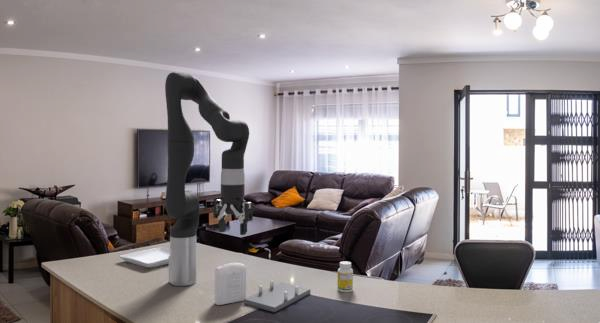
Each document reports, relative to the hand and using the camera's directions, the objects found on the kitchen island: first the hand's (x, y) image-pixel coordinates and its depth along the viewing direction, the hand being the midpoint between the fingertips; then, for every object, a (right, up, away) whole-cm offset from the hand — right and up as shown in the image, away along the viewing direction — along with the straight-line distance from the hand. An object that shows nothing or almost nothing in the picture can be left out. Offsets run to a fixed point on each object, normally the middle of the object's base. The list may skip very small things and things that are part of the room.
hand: (232, 233), depth 137 cm
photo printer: (-1, -22, +1) cm, 22 cm away
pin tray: (+15, -22, +4) cm, 27 cm away
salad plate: (-41, -20, +47) cm, 65 cm away
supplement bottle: (+37, -22, +12) cm, 45 cm away
